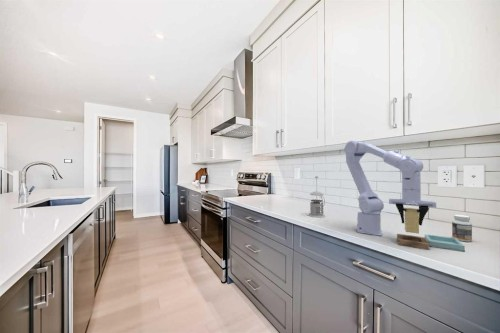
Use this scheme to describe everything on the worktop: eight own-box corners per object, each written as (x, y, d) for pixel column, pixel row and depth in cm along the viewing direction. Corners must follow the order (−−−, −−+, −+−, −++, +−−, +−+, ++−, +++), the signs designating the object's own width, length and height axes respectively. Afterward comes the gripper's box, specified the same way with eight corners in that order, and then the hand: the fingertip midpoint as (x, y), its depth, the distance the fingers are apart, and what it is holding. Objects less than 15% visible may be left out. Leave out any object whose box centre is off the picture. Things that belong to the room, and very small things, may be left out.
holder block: (398, 244, 79) (398, 239, 79) (397, 238, 87) (397, 233, 87) (429, 249, 74) (428, 244, 74) (424, 242, 82) (424, 237, 82)
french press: (305, 215, 130) (305, 176, 130) (317, 213, 136) (317, 175, 136) (318, 218, 121) (317, 176, 122) (330, 216, 128) (330, 176, 128)
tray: (429, 246, 78) (429, 240, 78) (424, 238, 86) (424, 234, 86) (464, 251, 73) (464, 246, 73) (456, 243, 81) (456, 238, 81)
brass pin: (404, 232, 80) (403, 209, 80) (403, 228, 84) (402, 207, 84) (420, 234, 77) (420, 210, 77) (418, 230, 81) (418, 208, 81)
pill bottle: (451, 236, 89) (451, 213, 89) (470, 239, 85) (470, 215, 85) (453, 240, 84) (452, 215, 85) (473, 243, 81) (473, 218, 81)
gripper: (389, 189, 81) (389, 223, 81) (438, 191, 73) (438, 229, 73) (388, 187, 87) (389, 219, 87) (433, 189, 79) (434, 224, 79)
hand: (411, 223), depth 81 cm, fingers closed on brass pin, 5 cm apart
